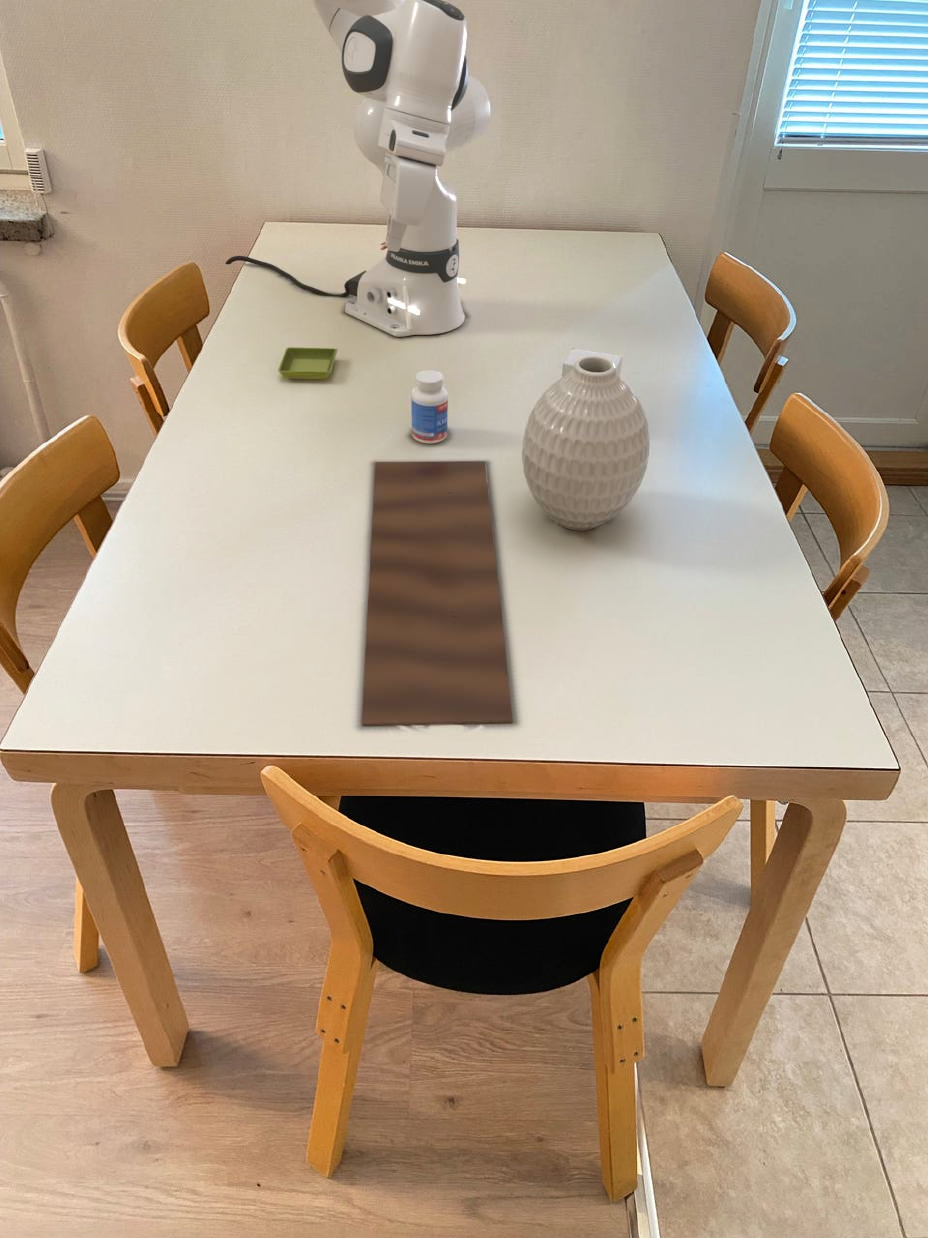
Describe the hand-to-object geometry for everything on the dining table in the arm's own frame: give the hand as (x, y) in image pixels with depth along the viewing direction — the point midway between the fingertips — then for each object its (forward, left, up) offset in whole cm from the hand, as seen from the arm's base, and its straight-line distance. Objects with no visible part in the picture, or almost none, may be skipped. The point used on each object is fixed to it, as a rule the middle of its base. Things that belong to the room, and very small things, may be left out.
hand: (391, 249), depth 133 cm
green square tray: (-21, +4, -26) cm, 34 cm away
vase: (+36, -7, -26) cm, 45 cm away
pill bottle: (+7, -1, -26) cm, 27 cm away
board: (+27, -28, -26) cm, 47 cm away
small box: (+25, +16, -26) cm, 40 cm away
